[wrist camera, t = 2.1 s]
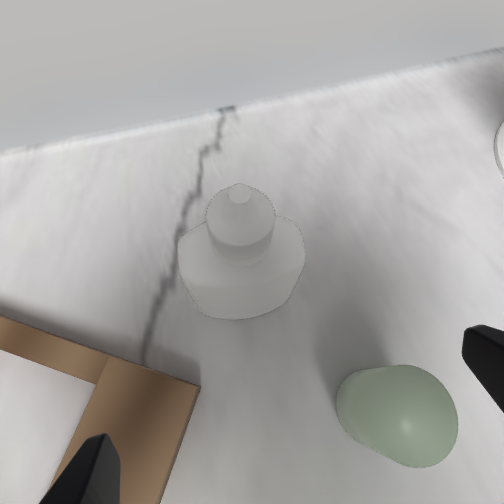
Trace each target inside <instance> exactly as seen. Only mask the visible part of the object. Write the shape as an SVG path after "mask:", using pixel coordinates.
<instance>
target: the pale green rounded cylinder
mask: <svg viewBox="0 0 504 504" xmlns="http://www.w3.org/2000/svg"><path fill="white" fill-rule="evenodd" d="M336 411H337V416H338V419H339V421H340V423H341V425H342V427H343V428H344V430H345V431H346V432H347V434H348V435H349V436H350V437H351V438H353V439H354V440H355V441H357V442H359V443H360V444H362V445H364V446H366V447H368V448H370V449H372V450H374V451H376V452H378V453H380V454H382V455H384V456H386V457H388V458H390V459H392V460H394V461H396V462H397V463H400V464H402V465H405V466H408V467H413V468H425V467H430V466H433V465H435V464H437V463H439V462H441V461H442V460H443V459H444V458H445V457H446V456H447V455H448V454H449V453H450V451H451V450H452V448H453V446H454V444H455V441H456V438H457V433H458V416H457V412H456V408H455V405H454V402H453V400H452V398H451V396H450V394H449V393H448V391H447V390H446V388H445V387H444V385H443V384H442V383H441V382H440V381H439V380H438V379H437V378H436V377H434V376H433V375H432V374H430V373H429V372H427V371H425V370H423V369H421V368H418V367H415V366H410V365H396V366H388V367H381V368H373V369H365V370H359V371H356V372H354V373H352V374H350V375H349V376H347V377H346V378H345V379H344V381H343V382H342V383H341V385H340V387H339V389H338V392H337V396H336Z"/></svg>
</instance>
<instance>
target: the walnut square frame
mask: <svg viewBox="0 0 504 504" xmlns="http://www.w3.org/2000/svg"><path fill="white" fill-rule="evenodd" d="M0 349H1V350H3V351H6V352H9V353H12V354H14V355H17V356H20V357H22V358H25V359H28V360H31V361H33V362H36V363H39V364H42V365H44V366H47V367H50V368H52V369H55V370H58V371H61V372H63V373H66V374H69V375H72V376H74V377H77V378H80V379H82V380H85V381H88V382H91V383H93V384H96V387H95V390H94V392H93V394H92V396H91V398H90V400H89V403H88V405H87V407H86V409H85V411H84V413H83V416H82V418H81V420H80V422H79V424H78V426H77V429H76V431H75V433H74V435H73V437H72V440H71V442H70V444H69V446H68V448H67V450H66V453H65V455H64V457H63V459H62V461H61V463H60V466H59V468H58V470H57V472H56V474H55V476H54V479H53V481H52V483H51V485H50V487H49V489H50V488H51V486H52V485H53V484H54V482H55V481H56V479H57V478H58V477H59V475H60V474H61V473H62V471H63V470H64V468H65V467H66V466H67V464H68V463H69V462H70V460H71V459H72V458H73V456H74V455H75V453H76V452H77V451H78V449H79V448H80V447H81V445H82V444H83V442H84V441H85V440H86V439H87V438H89V437H91V436H94V435H98V434H101V433H107V434H108V435H109V436H110V438H111V440H112V442H113V444H114V446H115V448H116V450H117V452H118V454H119V457H120V461H121V477H120V504H160V502H161V499H162V496H163V493H164V490H165V488H166V485H167V482H168V479H169V476H170V474H171V471H172V468H173V465H174V462H175V459H176V457H177V454H178V451H179V448H180V445H181V442H182V440H183V437H184V434H185V431H186V428H187V426H188V423H189V420H190V417H191V414H192V411H193V409H194V406H195V403H196V400H197V397H198V394H199V392H200V389H201V387H200V386H197V385H194V384H191V383H188V382H186V381H183V380H180V379H177V378H174V377H171V376H169V375H166V374H163V373H160V372H157V371H155V370H152V369H149V368H146V367H143V366H141V365H138V364H135V363H132V362H129V361H127V360H124V359H121V358H118V357H115V356H113V355H110V354H107V353H104V352H101V351H98V350H96V349H93V348H90V347H87V346H84V345H82V344H79V343H76V342H73V341H70V340H68V339H65V338H62V337H59V336H56V335H54V334H51V333H48V332H45V331H42V330H40V329H37V328H34V327H31V326H28V325H25V324H23V323H20V322H17V321H14V320H11V319H9V318H6V317H3V316H0ZM49 489H48V490H49Z"/></svg>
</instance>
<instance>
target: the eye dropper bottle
mask: <svg viewBox="0 0 504 504" xmlns="http://www.w3.org/2000/svg"><path fill="white" fill-rule="evenodd" d="M209 203H210V204H208V207H207V210H206V214H205V216H206V217H205V219H206V222H205V223H202V224H201V225H199V226H197V227H195V228H194V229H192V230H190V231H189V232H187V233H186V234H185V235H183V237H182V238H181V239H180V240H179V243H178V264H179V271H180V276H181V278H182V280H183V283H184V284H185V286H186V288H187V290H188V292H189V293H190V295H191V297H192V298H193V300H194V302H195V303H196V305H197V307H198V308H199V310H200V311H201V312H202V313H203V314H205V315H207V316H210V317H214V318H220V319H229V320H238V319H248V318H253V317H257V316H260V315H263V314H266V313H268V312H270V311H272V310H274V309H276V308H278V307H279V306H281V305H282V304H284V303H285V302H286V301H287V300H288V298H289V296H290V294H291V292H292V290H293V288H294V286H295V284H296V282H297V280H298V278H299V276H300V274H301V272H302V269H303V267H304V264H305V257H306V253H305V247H304V243H303V238H302V234H301V231H300V228H299V227H298V225H297V224H296V223H294V222H293V221H291V220H289V219H286V218H283V217H280V216H276V215H275V210H274V207H273V206H272V205H273V204H272V203H271V201H270V200H269V198H267V196H266V195H264V193H262V192H261V191H259V190H257V189H256V188H253V187H249V186H246V185H244V184H235V185H233V186H231V187H228V188H226V189H224V190H221V192H218V194H216V196H214V197H213V199H211V201H210V202H209Z"/></svg>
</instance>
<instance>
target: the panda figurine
mask: <svg viewBox="0 0 504 504" xmlns="http://www.w3.org/2000/svg"><path fill="white" fill-rule="evenodd" d="M494 151H495V158H496V162H497V165H498V167H499V170H500V172H501V174H502V176H503V178H504V122H503V123H502V124H501V126H500V127H499V129H498V131H497V134H496V137H495V144H494Z"/></svg>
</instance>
